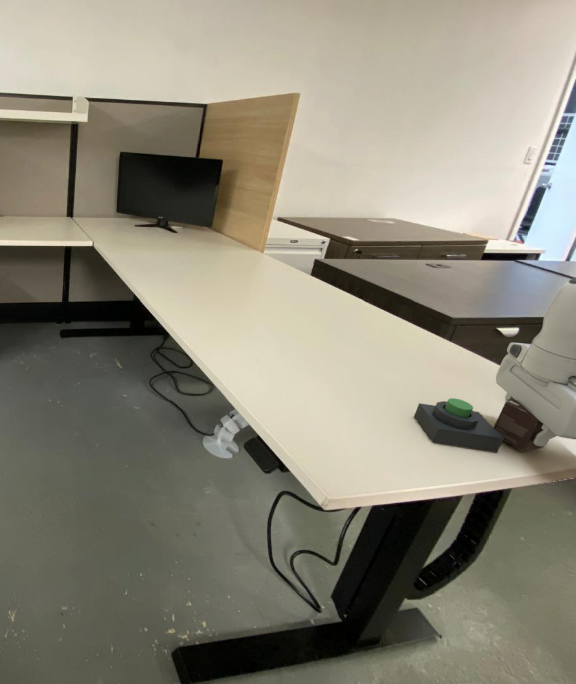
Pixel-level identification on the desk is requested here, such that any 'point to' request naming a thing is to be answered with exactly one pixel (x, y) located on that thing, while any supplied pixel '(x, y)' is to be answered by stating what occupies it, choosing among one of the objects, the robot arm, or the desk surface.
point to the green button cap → (458, 408)
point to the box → (518, 426)
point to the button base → (457, 428)
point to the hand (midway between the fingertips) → (522, 429)
